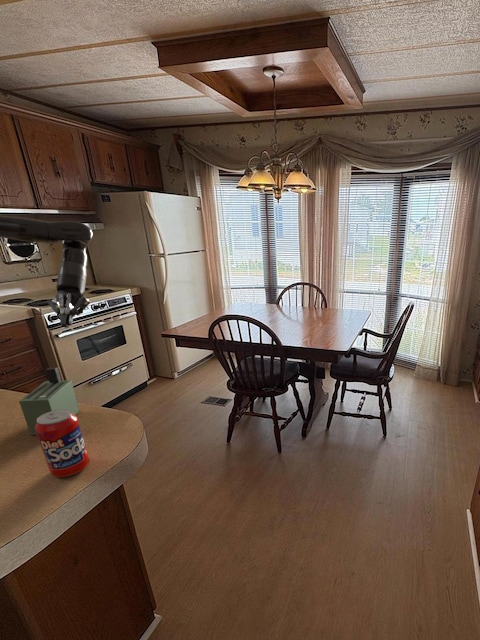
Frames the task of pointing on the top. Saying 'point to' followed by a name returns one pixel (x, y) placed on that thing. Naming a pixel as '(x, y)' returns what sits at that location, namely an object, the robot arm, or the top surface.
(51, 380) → the slider
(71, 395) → the toaster
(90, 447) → the top surface
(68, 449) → the soda can
